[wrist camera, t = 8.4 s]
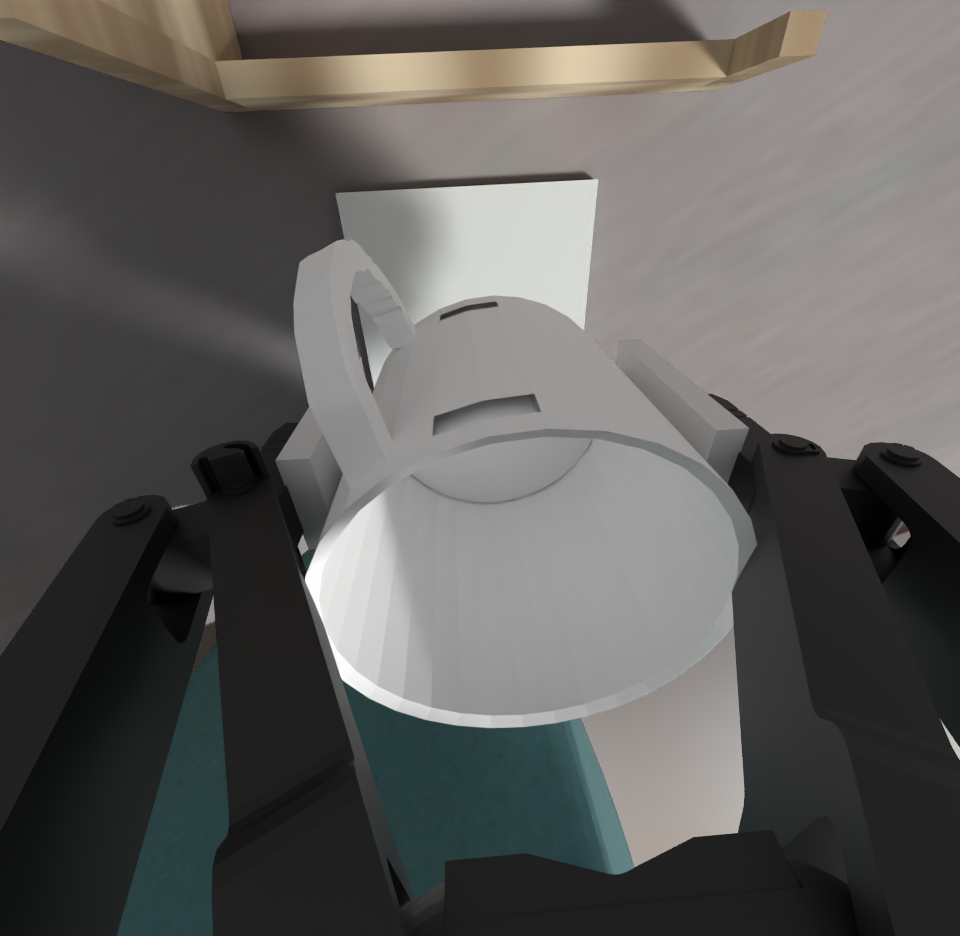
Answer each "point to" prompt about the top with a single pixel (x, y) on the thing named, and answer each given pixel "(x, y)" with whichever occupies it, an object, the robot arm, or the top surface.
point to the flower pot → (383, 801)
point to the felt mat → (474, 246)
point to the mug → (504, 511)
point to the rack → (376, 59)
